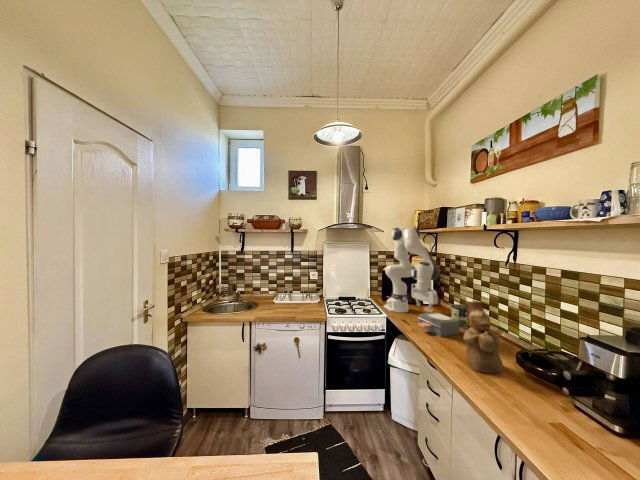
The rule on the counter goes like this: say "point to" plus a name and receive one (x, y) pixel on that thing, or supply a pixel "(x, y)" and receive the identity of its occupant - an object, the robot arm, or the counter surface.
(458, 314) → the coffee can
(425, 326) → the ticket
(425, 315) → the dispenser
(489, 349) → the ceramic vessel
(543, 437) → the counter surface
